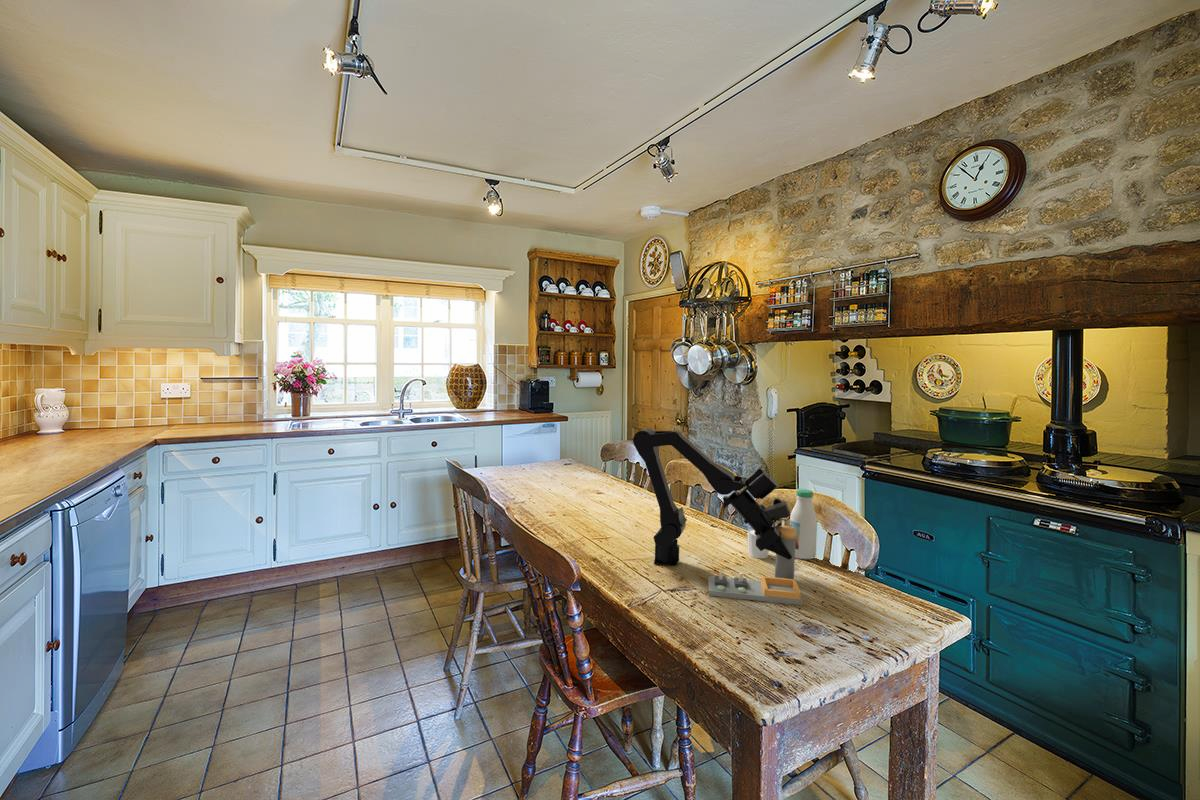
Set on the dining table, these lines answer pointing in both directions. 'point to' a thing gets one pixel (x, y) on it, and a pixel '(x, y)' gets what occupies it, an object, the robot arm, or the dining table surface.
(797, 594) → the breaker panel
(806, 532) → the milk bottle
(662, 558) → the robot arm
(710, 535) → the dining table surface
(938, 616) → the dining table surface
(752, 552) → the white tapered cup
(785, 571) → the grey orange cylinder
